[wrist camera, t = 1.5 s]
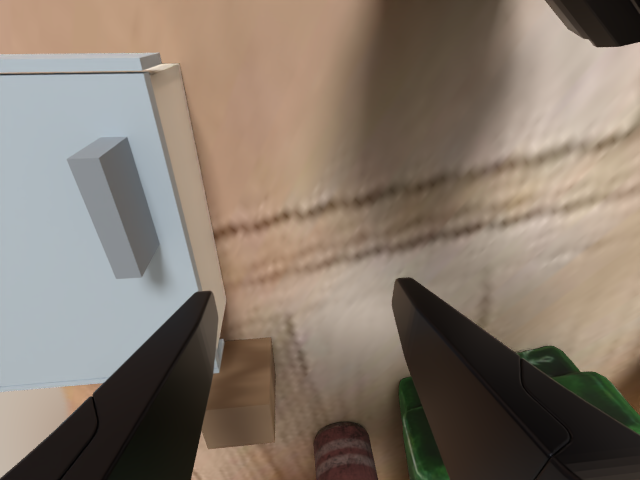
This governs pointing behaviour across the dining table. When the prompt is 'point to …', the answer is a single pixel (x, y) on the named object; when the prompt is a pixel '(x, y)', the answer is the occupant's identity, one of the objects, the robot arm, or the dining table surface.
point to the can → (344, 453)
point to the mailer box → (185, 175)
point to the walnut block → (242, 396)
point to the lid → (85, 219)
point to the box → (590, 386)
